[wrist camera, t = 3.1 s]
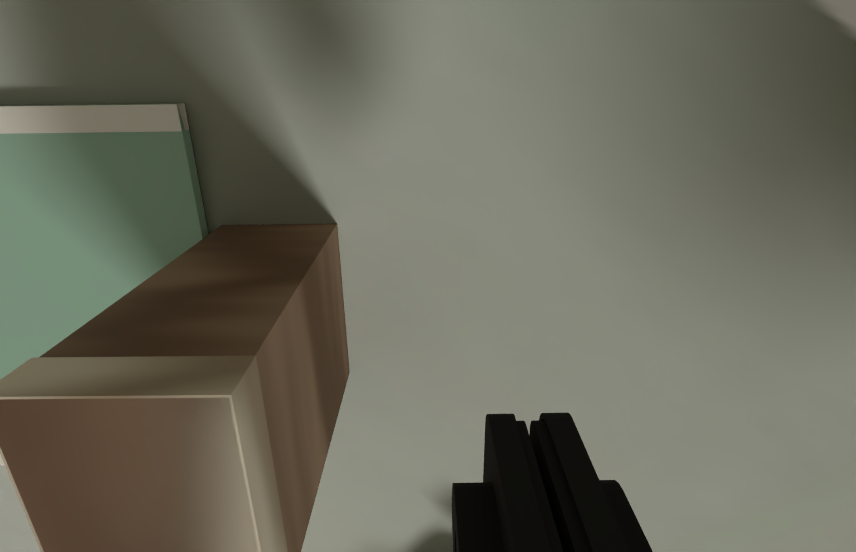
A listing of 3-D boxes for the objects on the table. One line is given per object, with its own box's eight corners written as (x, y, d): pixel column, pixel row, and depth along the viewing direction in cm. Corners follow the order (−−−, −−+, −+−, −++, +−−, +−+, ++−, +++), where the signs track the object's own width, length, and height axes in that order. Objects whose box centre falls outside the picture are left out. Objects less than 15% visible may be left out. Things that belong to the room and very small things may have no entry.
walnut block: (338, 222, 17) (231, 395, 8) (350, 373, 20) (278, 644, 10) (219, 223, 17) (-24, 396, 8) (246, 373, 20) (80, 644, 10)
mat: (184, 103, 16) (176, 104, 15) (249, 454, 21) (244, 464, 20) (-254, 109, 16) (-277, 110, 15) (-81, 456, 21) (-93, 466, 21)
